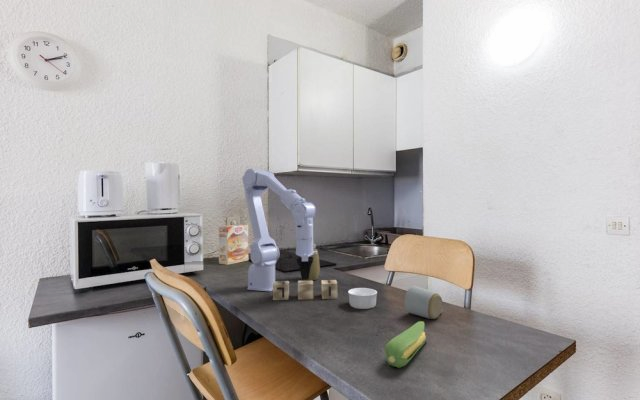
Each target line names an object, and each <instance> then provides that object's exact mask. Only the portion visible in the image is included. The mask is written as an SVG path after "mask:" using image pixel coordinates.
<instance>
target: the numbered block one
mask: <svg viewBox="0 0 640 400" xmlns="http://www.w3.org/2000/svg"><path fill="white" fill-rule="evenodd" d="M321 299H322V300H326V299H327V300H332V299H333V300H334V299H338V281H337V279H321Z"/></svg>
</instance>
